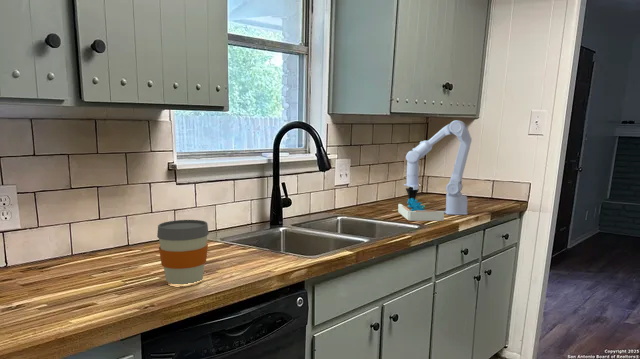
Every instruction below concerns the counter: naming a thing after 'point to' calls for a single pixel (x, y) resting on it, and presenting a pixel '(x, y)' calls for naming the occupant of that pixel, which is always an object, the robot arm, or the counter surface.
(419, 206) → the blue toy dinosaur
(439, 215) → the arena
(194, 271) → the reusable coffee cup
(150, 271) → the counter surface
